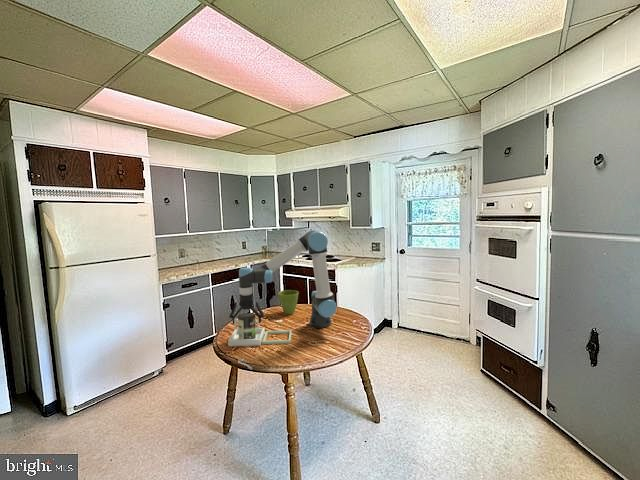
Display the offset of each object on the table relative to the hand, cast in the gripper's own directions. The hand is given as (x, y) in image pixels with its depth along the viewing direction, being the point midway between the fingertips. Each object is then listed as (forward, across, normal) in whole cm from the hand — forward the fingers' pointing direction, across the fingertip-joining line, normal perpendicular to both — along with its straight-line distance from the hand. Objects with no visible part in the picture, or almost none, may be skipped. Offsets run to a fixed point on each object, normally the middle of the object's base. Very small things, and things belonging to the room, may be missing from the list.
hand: (247, 328), depth 179 cm
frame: (+7, -18, -1) cm, 19 cm away
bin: (+7, 0, 0) cm, 7 cm away
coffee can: (+6, 0, 0) cm, 6 cm away
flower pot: (+7, -22, -48) cm, 53 cm away
